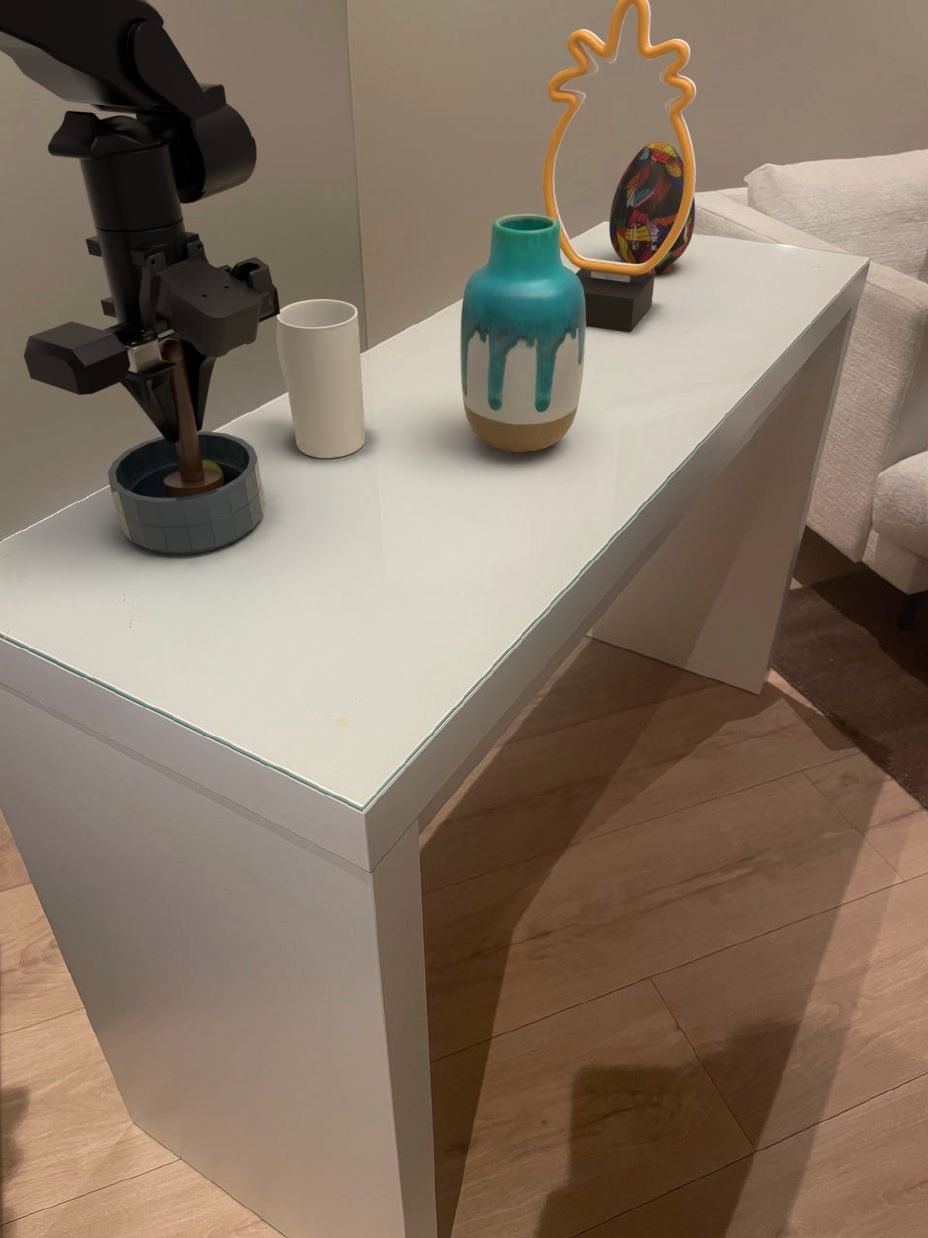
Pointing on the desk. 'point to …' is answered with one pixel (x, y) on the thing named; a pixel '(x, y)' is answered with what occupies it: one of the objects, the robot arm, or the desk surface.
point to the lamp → (623, 287)
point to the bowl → (192, 517)
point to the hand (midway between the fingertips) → (184, 435)
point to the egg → (650, 208)
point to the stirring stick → (185, 432)
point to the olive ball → (212, 466)
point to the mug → (323, 375)
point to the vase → (522, 338)
